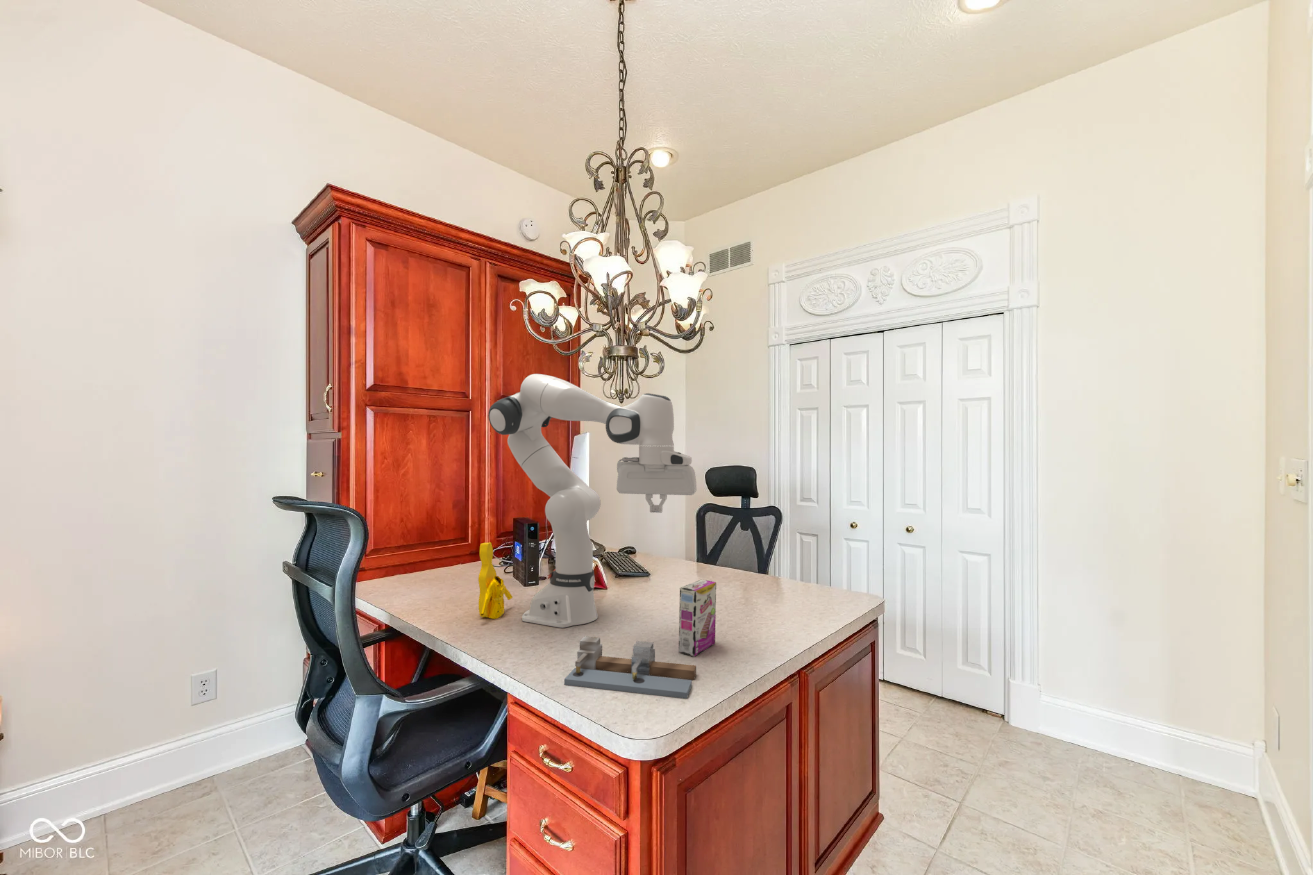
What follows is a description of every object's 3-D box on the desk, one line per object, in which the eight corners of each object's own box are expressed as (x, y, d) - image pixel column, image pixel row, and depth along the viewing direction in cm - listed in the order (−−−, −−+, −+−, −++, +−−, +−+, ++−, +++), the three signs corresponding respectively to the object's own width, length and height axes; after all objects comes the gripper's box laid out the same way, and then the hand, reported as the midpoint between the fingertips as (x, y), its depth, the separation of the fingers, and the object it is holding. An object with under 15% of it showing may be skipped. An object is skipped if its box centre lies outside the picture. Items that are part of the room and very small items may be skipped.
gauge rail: (568, 679, 118) (568, 651, 118) (586, 660, 129) (586, 634, 129) (689, 693, 112) (689, 662, 112) (697, 671, 123) (697, 644, 123)
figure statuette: (488, 626, 153) (488, 549, 153) (463, 624, 155) (464, 548, 155) (517, 607, 170) (518, 538, 171) (495, 606, 172) (495, 537, 172)
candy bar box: (695, 657, 131) (695, 590, 131) (678, 653, 134) (678, 587, 134) (716, 643, 140) (717, 581, 140) (700, 639, 143) (700, 578, 143)
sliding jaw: (625, 684, 115) (625, 656, 115) (638, 664, 126) (638, 638, 126) (642, 686, 114) (643, 658, 115) (654, 665, 125) (655, 640, 125)
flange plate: (564, 684, 116) (564, 678, 116) (574, 673, 122) (574, 667, 122) (686, 698, 110) (687, 692, 110) (691, 685, 116) (691, 679, 116)
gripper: (613, 457, 134) (612, 512, 134) (693, 458, 130) (693, 515, 130) (620, 456, 141) (620, 509, 140) (697, 457, 136) (697, 512, 136)
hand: (656, 512), depth 135 cm, fingers closed
